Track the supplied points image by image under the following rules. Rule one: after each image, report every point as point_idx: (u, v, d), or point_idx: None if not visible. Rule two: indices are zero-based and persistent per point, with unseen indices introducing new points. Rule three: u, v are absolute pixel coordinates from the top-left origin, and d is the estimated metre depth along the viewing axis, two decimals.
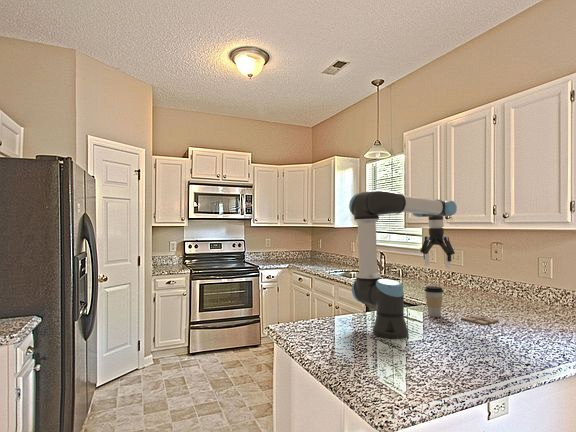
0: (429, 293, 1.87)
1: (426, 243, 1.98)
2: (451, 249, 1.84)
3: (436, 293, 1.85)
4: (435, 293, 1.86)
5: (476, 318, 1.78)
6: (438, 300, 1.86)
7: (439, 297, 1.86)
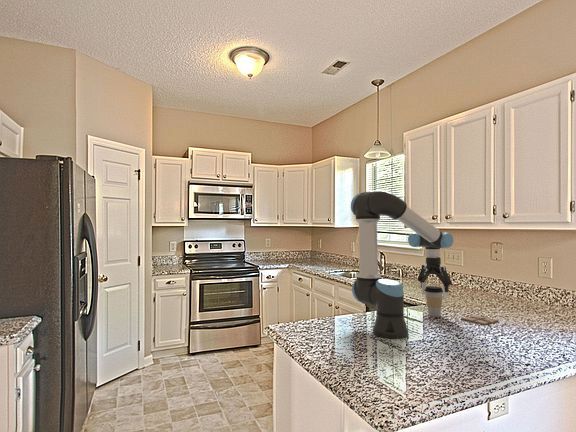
0: (429, 293, 1.87)
1: (423, 271, 1.96)
2: (448, 280, 1.82)
3: (436, 293, 1.85)
4: (435, 293, 1.86)
5: (476, 318, 1.78)
6: (438, 300, 1.86)
7: (439, 297, 1.86)
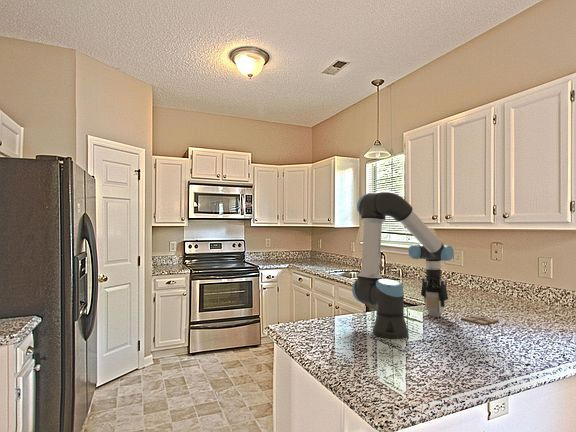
0: (429, 293, 1.87)
1: (425, 285, 1.95)
2: (445, 295, 1.83)
3: (436, 293, 1.85)
4: (435, 293, 1.86)
5: (476, 318, 1.78)
6: (438, 300, 1.86)
7: None
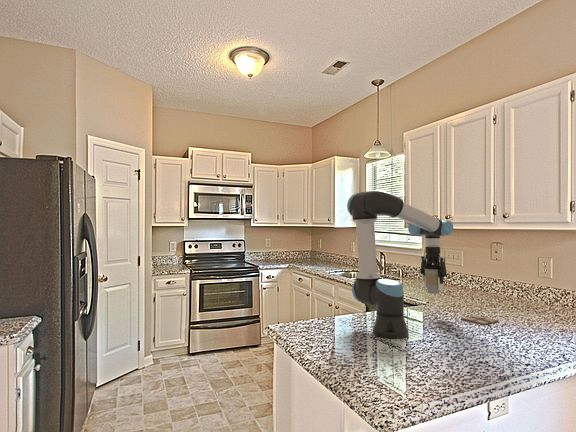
0: (428, 270, 1.88)
1: (424, 263, 1.95)
2: (444, 271, 1.84)
3: (435, 270, 1.86)
4: (434, 270, 1.86)
5: (476, 318, 1.78)
6: (437, 277, 1.86)
7: None
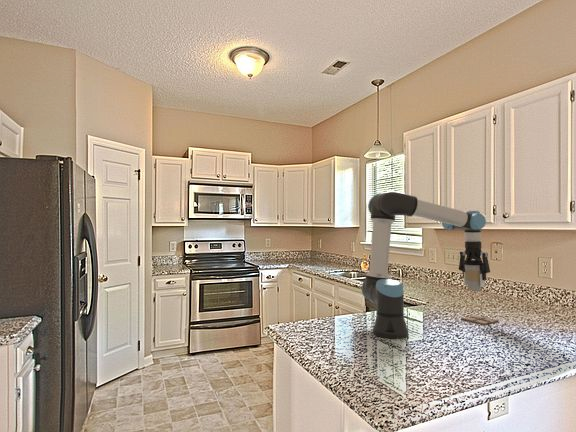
0: (469, 266, 1.77)
1: (463, 259, 1.85)
2: (487, 267, 1.73)
3: (477, 266, 1.75)
4: (476, 266, 1.76)
5: (476, 318, 1.78)
6: (479, 274, 1.76)
7: None
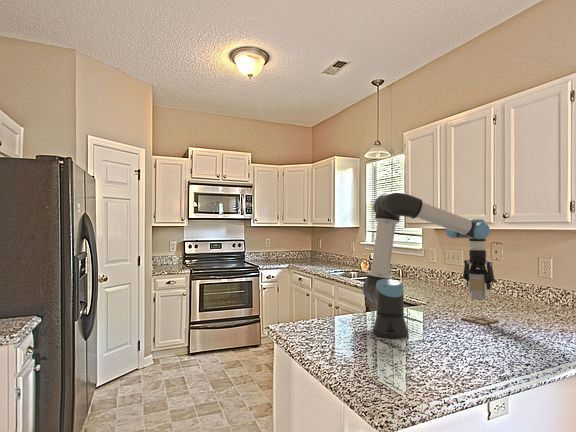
0: (474, 275, 1.76)
1: (467, 267, 1.83)
2: (492, 276, 1.72)
3: (481, 275, 1.74)
4: (480, 275, 1.74)
5: (476, 318, 1.78)
6: (483, 283, 1.74)
7: None
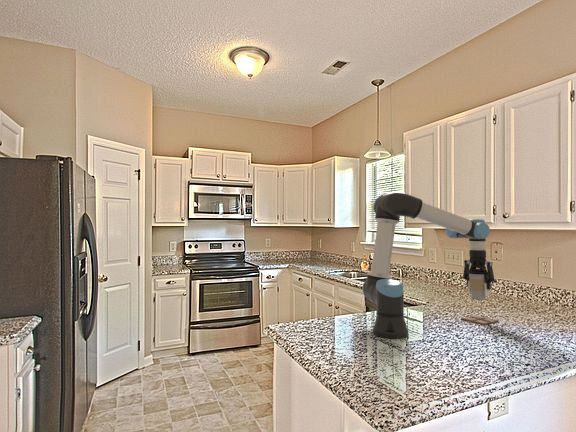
0: (474, 275, 1.76)
1: (467, 267, 1.83)
2: (492, 276, 1.72)
3: (481, 275, 1.74)
4: (480, 275, 1.74)
5: (476, 318, 1.78)
6: (483, 283, 1.74)
7: None
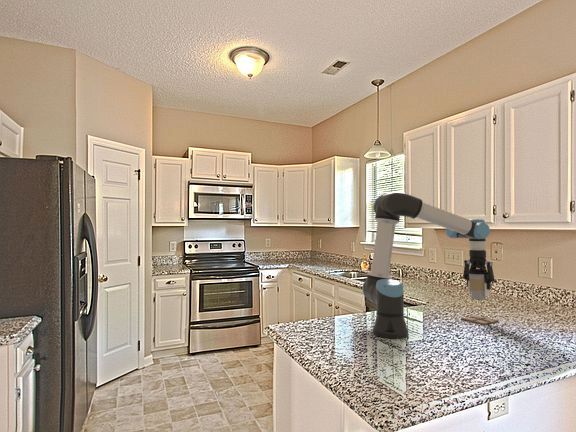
0: (474, 275, 1.76)
1: (467, 267, 1.83)
2: (492, 276, 1.72)
3: (481, 275, 1.74)
4: (480, 275, 1.74)
5: (476, 318, 1.78)
6: (483, 283, 1.74)
7: None
